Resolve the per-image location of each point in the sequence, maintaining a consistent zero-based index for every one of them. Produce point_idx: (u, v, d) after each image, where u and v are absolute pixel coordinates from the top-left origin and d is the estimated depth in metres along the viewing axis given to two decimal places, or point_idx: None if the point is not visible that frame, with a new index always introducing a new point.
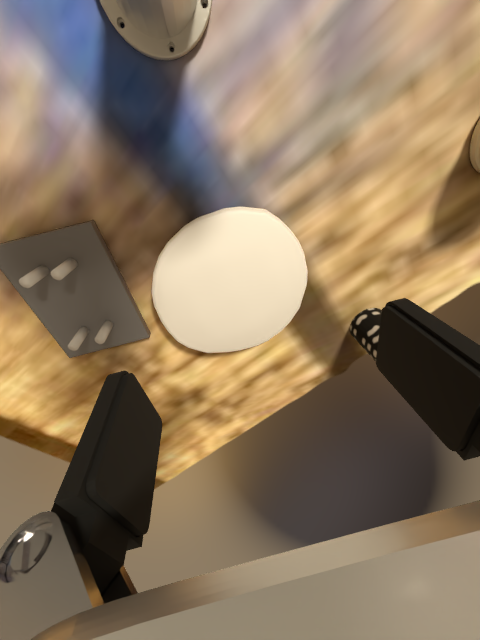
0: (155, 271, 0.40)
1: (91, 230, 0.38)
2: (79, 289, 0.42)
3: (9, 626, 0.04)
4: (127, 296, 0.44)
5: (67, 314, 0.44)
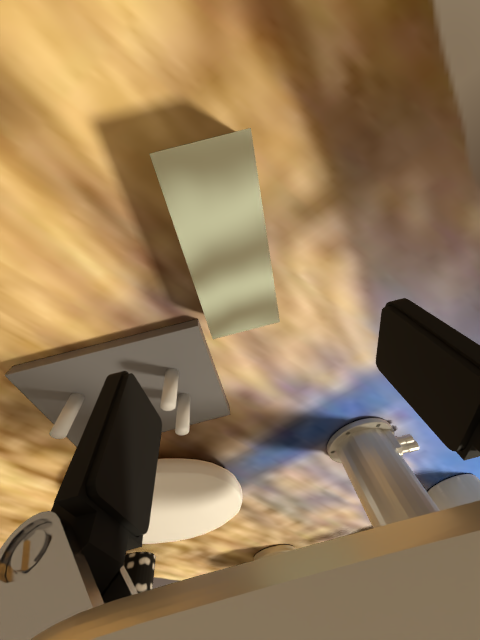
0: (186, 473, 0.38)
1: (221, 414, 0.36)
2: None
3: (9, 627, 0.04)
4: None
5: (103, 384, 0.30)
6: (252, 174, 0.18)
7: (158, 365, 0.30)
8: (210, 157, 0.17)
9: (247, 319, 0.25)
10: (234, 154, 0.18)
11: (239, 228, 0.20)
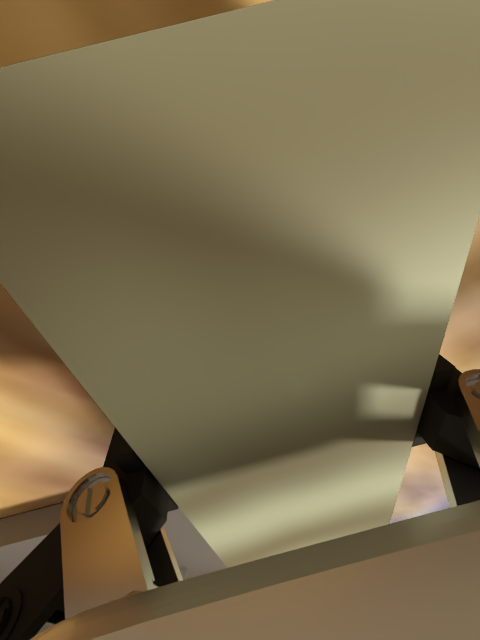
0: None
1: None
2: None
3: (86, 554, 0.05)
4: None
5: None
6: (456, 221, 0.04)
7: None
8: (271, 138, 0.03)
9: (317, 540, 0.10)
10: (404, 121, 0.03)
11: (342, 397, 0.06)
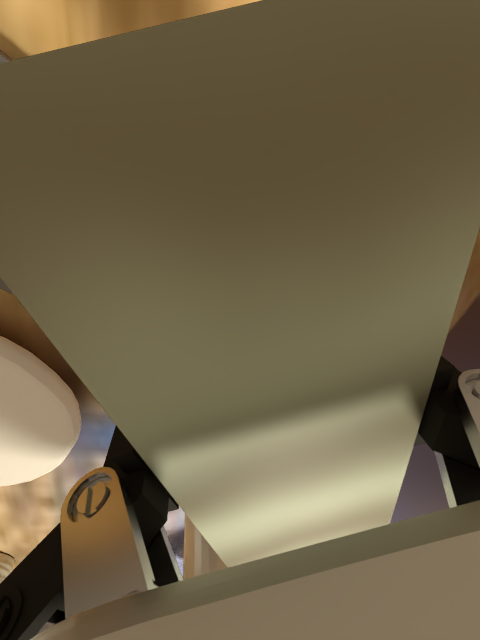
0: (49, 392, 0.26)
1: None
2: None
3: (87, 554, 0.05)
4: None
5: None
6: (460, 220, 0.04)
7: None
8: (277, 136, 0.03)
9: (317, 539, 0.10)
10: (409, 120, 0.03)
11: (345, 396, 0.06)
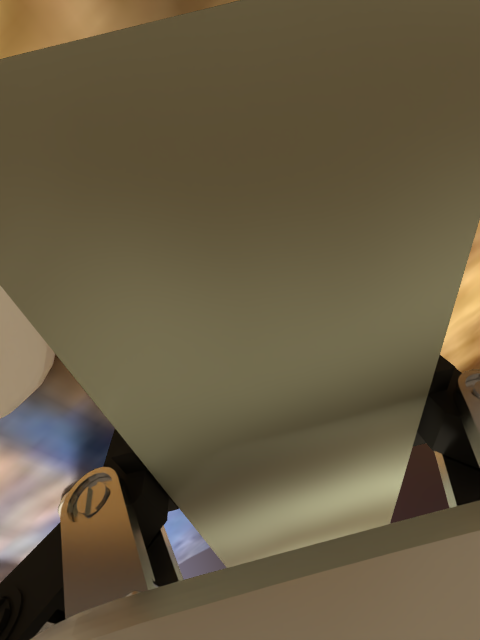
0: (42, 354, 0.19)
1: None
2: None
3: (87, 554, 0.05)
4: None
5: None
6: (458, 219, 0.04)
7: None
8: (271, 134, 0.03)
9: (317, 540, 0.10)
10: (405, 116, 0.03)
11: (343, 396, 0.06)
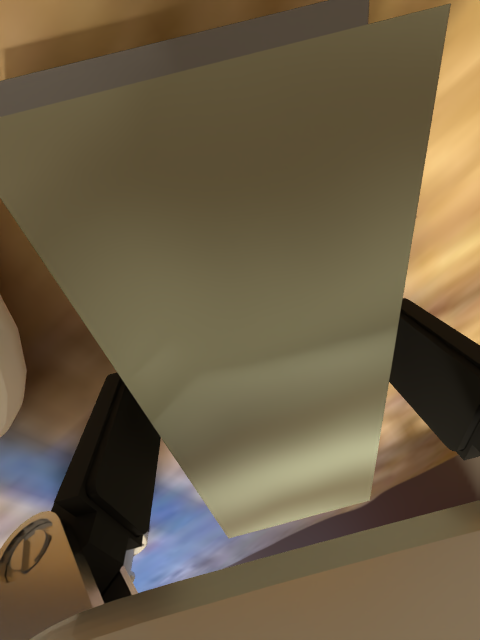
0: (3, 401, 0.15)
1: None
2: None
3: (10, 626, 0.04)
4: None
5: None
6: (399, 213, 0.05)
7: None
8: (248, 151, 0.04)
9: (305, 506, 0.11)
10: (348, 137, 0.04)
11: (318, 364, 0.07)
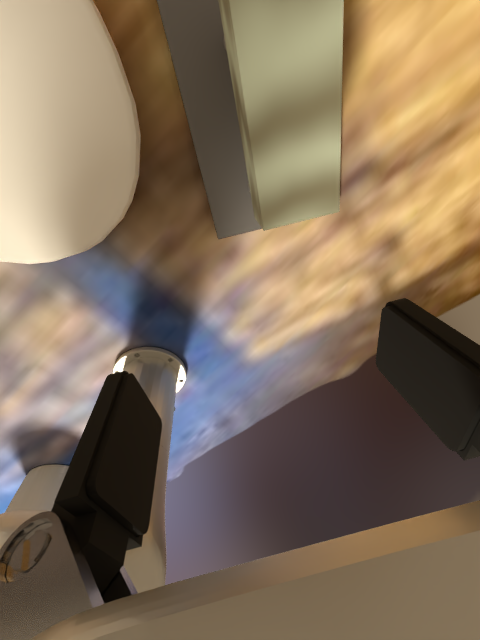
0: (131, 180, 0.25)
1: (219, 229, 0.32)
2: None
3: (9, 626, 0.04)
4: (188, 115, 0.25)
5: None
6: None
7: None
8: None
9: (304, 205, 0.22)
10: None
11: (311, 69, 0.17)
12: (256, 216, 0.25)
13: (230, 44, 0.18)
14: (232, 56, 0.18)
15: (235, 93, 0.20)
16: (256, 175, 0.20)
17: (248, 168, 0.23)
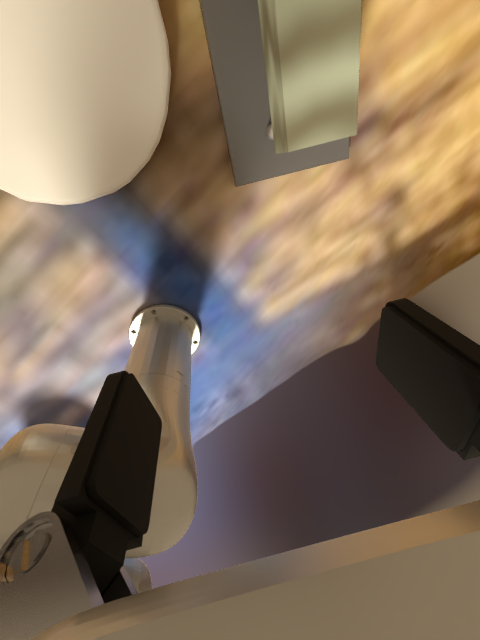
0: (161, 116, 0.27)
1: (238, 176, 0.34)
2: None
3: (9, 626, 0.04)
4: (213, 59, 0.28)
5: None
6: None
7: None
8: None
9: (326, 126, 0.24)
10: None
11: None
12: (278, 147, 0.27)
13: None
14: None
15: (263, 22, 0.23)
16: (283, 93, 0.22)
17: (272, 97, 0.25)
